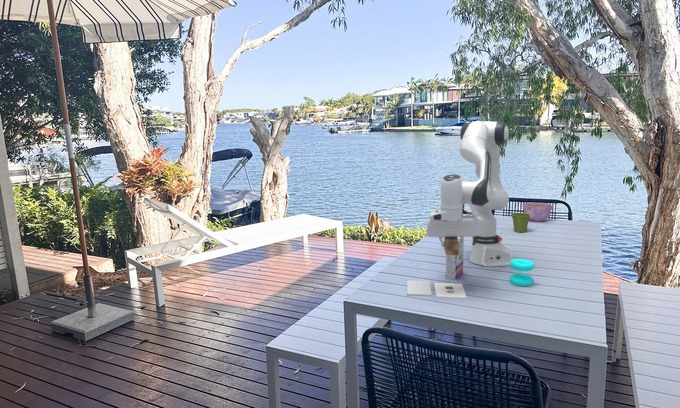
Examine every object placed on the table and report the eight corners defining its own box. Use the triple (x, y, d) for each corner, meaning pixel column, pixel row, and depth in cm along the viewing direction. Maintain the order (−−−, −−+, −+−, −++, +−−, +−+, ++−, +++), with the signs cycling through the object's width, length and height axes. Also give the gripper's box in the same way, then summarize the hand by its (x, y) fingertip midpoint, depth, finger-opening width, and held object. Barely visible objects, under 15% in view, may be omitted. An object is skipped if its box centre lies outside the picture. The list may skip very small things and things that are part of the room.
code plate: (461, 284, 195) (461, 283, 195) (466, 298, 180) (466, 297, 180) (434, 283, 197) (434, 282, 197) (436, 297, 181) (436, 296, 181)
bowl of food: (525, 223, 310) (526, 207, 308) (518, 217, 329) (519, 202, 327) (555, 223, 306) (556, 207, 304) (547, 217, 326) (548, 202, 324)
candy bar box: (453, 271, 212) (453, 238, 209) (463, 273, 210) (464, 239, 207) (445, 278, 203) (446, 244, 200) (456, 280, 200) (456, 245, 197)
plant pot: (531, 230, 289) (532, 213, 287) (528, 234, 279) (529, 217, 277) (512, 228, 295) (513, 212, 293) (508, 232, 286) (509, 215, 284)
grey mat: (429, 283, 197) (429, 281, 197) (431, 296, 182) (431, 294, 182) (406, 282, 199) (406, 280, 199) (406, 296, 183) (407, 293, 183)
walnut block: (455, 248, 190) (456, 234, 189) (458, 255, 180) (458, 240, 179) (444, 248, 191) (444, 234, 190) (446, 255, 181) (446, 240, 180)
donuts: (538, 264, 189) (514, 265, 189) (537, 287, 190) (513, 287, 191) (529, 257, 198) (506, 258, 199) (528, 279, 200) (505, 279, 200)
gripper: (476, 212, 184) (475, 244, 187) (426, 212, 187) (426, 244, 190) (478, 215, 178) (478, 248, 181) (427, 216, 181) (427, 248, 184)
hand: (451, 246), depth 185 cm, fingers closed on walnut block, 5 cm apart
